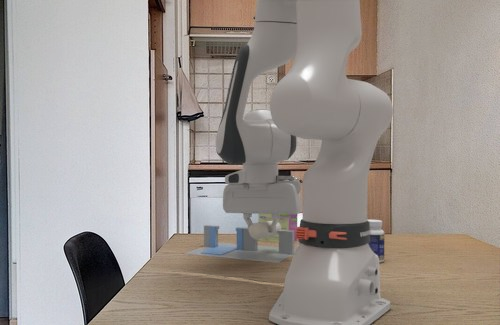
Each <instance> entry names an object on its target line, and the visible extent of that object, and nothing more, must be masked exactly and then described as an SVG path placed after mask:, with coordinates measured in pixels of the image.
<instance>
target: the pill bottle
mask: <svg viewBox="0 0 500 325" xmlns="http://www.w3.org/2000/svg"><path fill="white" fill-rule="evenodd" d="M367 220H368V221H369V223H370V242H369V243H368V244H369V246H370V248H371V250H372V251H373V252H374V253H375V254H376V255H377V256H378V257H379V264H381V263H384V262H385V231H384V230H383V229H382V226H383V221H382V220H380V219H367Z"/></svg>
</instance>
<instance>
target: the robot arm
mask: <svg viewBox="0 0 500 325" xmlns="http://www.w3.org/2000/svg"><path fill="white" fill-rule="evenodd" d="M360 1H361V0H256V6H255V13H254V26H253V31H252V34H251V37H250V39H249V40H248V42H247V43H246V45H245V44H244V46H241V47H240V49H239V50H238V52H237V54H236V57H235V61H234V64H233V68H232V71H231V75H230V81H229V84H228V89H227V93H226V98H225V103H224V108H223V112H222V116H221V119H220V123H219V126H218V129H217V132H216V135H215V149H216V153H217V155H218V156H219V158H220V159H221V160H223V161H224V162H225V163H226V164H228V165H231V166H232V165H241V164H242V169H240V170H237V171H235V172H232V173H229V174H227V175H225V177H224V182H225V184H226V185H225V186H224V188H223V192H222V209H223V211H224V212H225V214H243V215H242V216H243V220H244V222H245V224H246V225H247V228H248V232H249V228H250V226H251V225H252V224H253V223H254V222H253V220H252V217H253V214H255V215H256V214H258V215H259V214H271V215H272V219H273V222H272V224H271V225H268V232H270V233H274V232H276V225H277V223H278V221H279V219H280V214H297V215H298V214H300V213H301V211H302V219H301V220H300V222H299V226H297V228H296V229H297V230H296V231H295V232H296V233H295V234H296V235H295V236H296V239H297V241H298V242H299V243H298V246H297V247H296V248H295V249H296V250H295V254H293V255H292V256H293V257H292V260H291V261H290V265H289V267H288V270H287V273H286V275H285V278H284V283H283V284H284V285H283V290H282V292H281V293H280V295H279V297H278V298H277V300H276V302H275V303H274V305H273V306H272V308H271V309H270V311H269V313H268V321H270V322H272V323H274V324H277V325H372V323H373V322H375V321H376V320H378V319H379V318H380V317H382V316H383V315H385V314H386V313H387V312H388V311H389V310H391V308H392V305H391V301H390V300H388V299H385V298H383V297H381V296H382V295H381V279H380V278H381V276H380V263H379V257H378V256H377V255H376V254H375V253H374V252H373V251H372V250H371V248H370V246H369V244H368V243H369V242H370V223H369V221H368V220H369V219H368V188H369V187H368V184H369V174H370V173H369V172H370V168H371V164H372V159H373V158H374V157H373V156H374V154H375V150H376V147H377V145H378V141H379V140H380V138H381V136H382V135H383V134H384V133H385V132H386V131H387V130H388V128H389V126H390V124H391V122H392V120H393V115H394V114H393V113H394V108H393V103H392V100H391V98H390V96H389V95H388V94H387V93H386V92H385V91H383V90H382V89H380V87H377V86H375V85H373V84H371V83H369V82H367V81H364V80H363V81H362V80H357V79H352V78H348V77H347V64H348V59H349V56H350V53H352V52H353V51H354V50H355V49H356V48H357V47H358V46H359V44H360V43H361V41H362V36H363V32H362V31H363V30H362V29H363V28H362V19H361V18H362V17H361V15H362V14H361V3H360ZM291 61H293V62H292V64H291V66H290V68H289V70H288V71H287V73H286V74H285V75H284V76H283V77H282V78H280V79H279V81H278V82H277V83H276V85H275V87H274V89H272V90H273V91H272V93H271V95H270V96H271V97H270V103H269V109H259V108H258V109H255V110H250V111H248V112H247V113H245V110H246V107H247V106H246V105H247V101H248V97H249V94H250V88H251V85H252V83H253V82H254V81H255V79H256V78H257V77H259V76H260V75H262V74H264V73H266V72H268V71H271V70H273V69H277V68H279V67H282V66H284V65H287V64H288V63H290V62H291ZM297 138H301V139H304V140H319V141H321V144H320V149H319V151H318V155H317V158H316V159H315V161H314V163H313V164H312V165H311V166H310V167H309V168H307V170H305V172H304V174H303V176H302V181H300V179H299V178H297V177H295V175H279V163H278V162H284V161H288V160H289V159H290V158H292V157H293V155H294V153H295V152H296V151H297ZM301 182H302V185H301ZM301 186H302V187H301ZM301 188H302V189H301ZM301 190H302V199H301V194H300V193H301Z"/></svg>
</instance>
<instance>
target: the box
mask: <svg viewBox="0 0 500 325" xmlns="http://www.w3.org/2000/svg"><path fill="white" fill-rule="evenodd" d="M266 221H273V219H272V215H271V214H258V221H257V223H258V222H266ZM278 222H279V223H280V225H281V230H289V231H294V243H296V242H297V241H298V239H296V236H295V235H296V234H295V233H296V232H295V231H296V230H297V229H296V228H297V227H298V214H280V219H279V221H278ZM258 241H260V242H270V243H271V242H272V243H277V244H279V234H278V235H276V236H271V237H267V238H262V239H258Z"/></svg>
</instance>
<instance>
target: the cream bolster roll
mask: <svg viewBox="0 0 500 325" xmlns="http://www.w3.org/2000/svg"><path fill="white" fill-rule="evenodd" d="M272 222H273V221H266V222H258V221H257V222H252V223H253V224H252V225H251V226H250V228H249V234H250V236H251V237H252V238H253V239H256V240H257V239H262V238H267V237H271V236H276V235H278V234H277V231H278V230H281V225H280V223H279V222H278V223H277V225H276V232H274V233H270V232H268V225H271V224H272Z"/></svg>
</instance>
